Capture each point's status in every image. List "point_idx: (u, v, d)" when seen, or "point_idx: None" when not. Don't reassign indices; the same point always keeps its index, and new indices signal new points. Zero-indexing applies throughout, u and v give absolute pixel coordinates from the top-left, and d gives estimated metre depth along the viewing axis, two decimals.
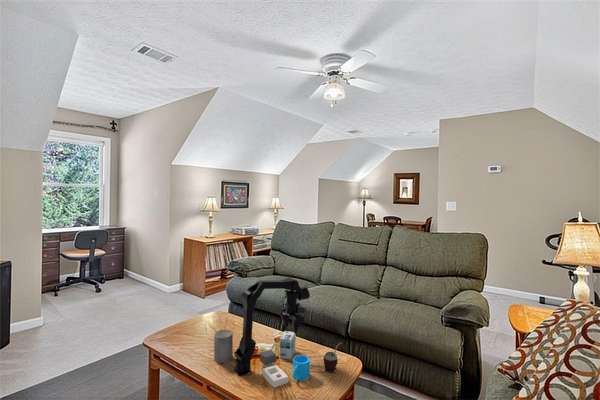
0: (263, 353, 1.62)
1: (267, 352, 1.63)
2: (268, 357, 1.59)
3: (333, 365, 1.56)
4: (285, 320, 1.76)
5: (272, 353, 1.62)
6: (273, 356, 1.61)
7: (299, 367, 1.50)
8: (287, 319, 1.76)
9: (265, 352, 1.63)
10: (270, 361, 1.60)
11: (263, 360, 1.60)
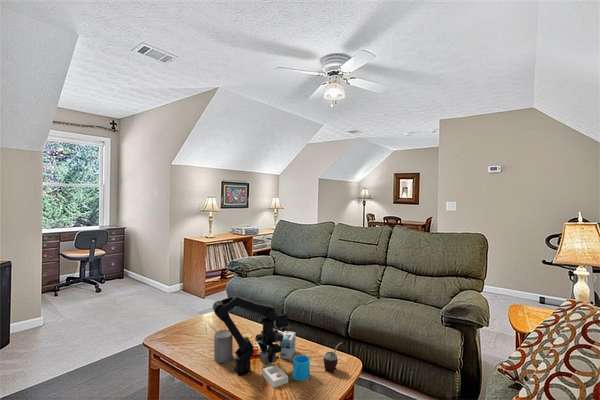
0: (263, 353, 1.62)
1: None
2: None
3: (333, 365, 1.56)
4: (263, 350, 1.65)
5: None
6: (273, 356, 1.61)
7: (299, 367, 1.50)
8: (265, 348, 1.65)
9: (265, 352, 1.63)
10: None
11: (263, 360, 1.60)
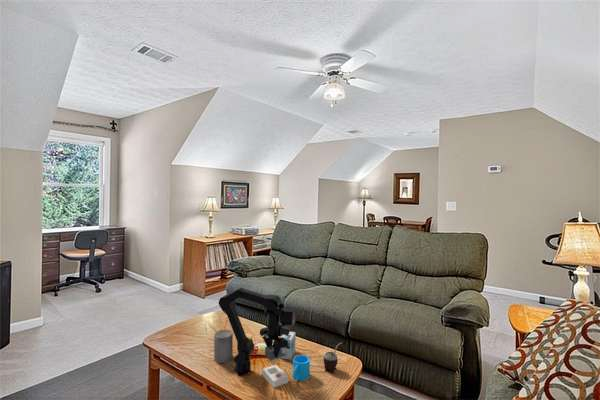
0: (268, 348, 1.52)
1: None
2: None
3: (333, 365, 1.56)
4: (268, 344, 1.55)
5: None
6: (279, 351, 1.52)
7: (299, 367, 1.50)
8: (271, 343, 1.56)
9: (271, 347, 1.54)
10: None
11: (269, 355, 1.50)
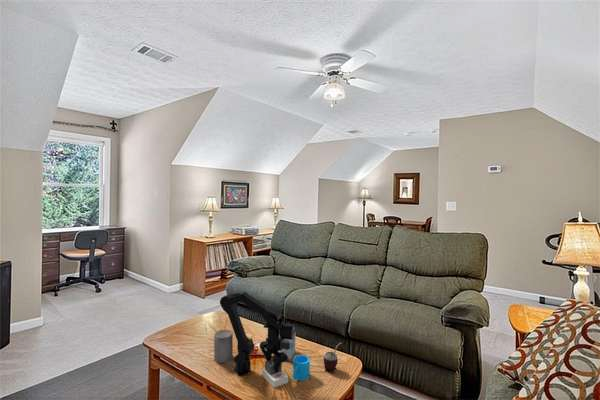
0: (268, 362, 1.52)
1: None
2: None
3: (333, 365, 1.56)
4: (267, 357, 1.56)
5: None
6: None
7: (299, 367, 1.50)
8: (270, 356, 1.56)
9: (270, 361, 1.54)
10: None
11: (268, 370, 1.50)
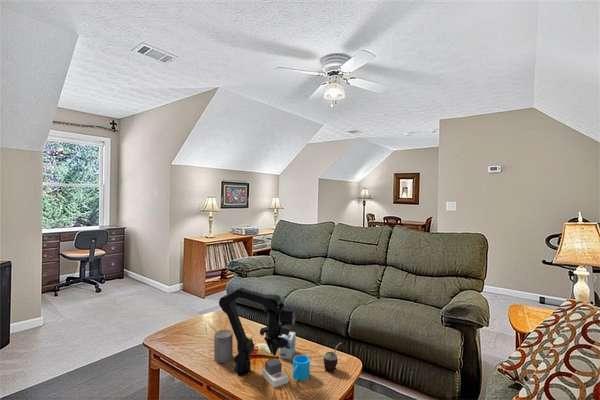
0: (268, 362, 1.52)
1: (273, 361, 1.54)
2: (274, 366, 1.50)
3: (333, 365, 1.56)
4: (270, 345, 1.53)
5: (278, 362, 1.53)
6: (279, 365, 1.51)
7: (299, 367, 1.50)
8: None
9: (270, 361, 1.54)
10: (276, 371, 1.51)
11: (268, 370, 1.50)
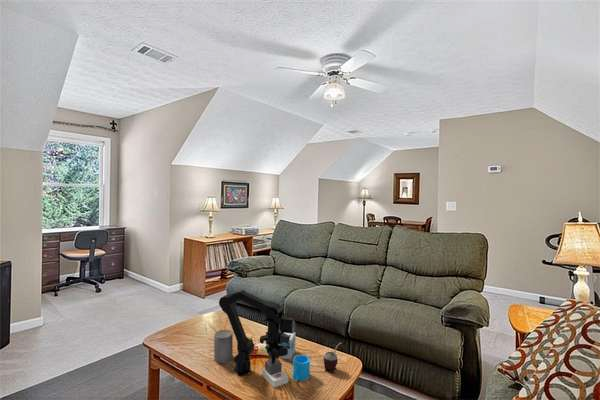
0: (268, 362, 1.52)
1: None
2: (274, 366, 1.50)
3: (333, 365, 1.56)
4: None
5: (278, 362, 1.53)
6: (279, 365, 1.51)
7: (299, 367, 1.50)
8: None
9: (270, 361, 1.54)
10: (276, 371, 1.51)
11: (268, 370, 1.50)
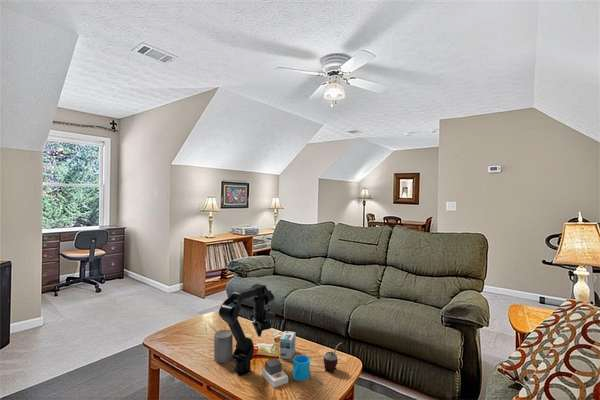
0: (268, 362, 1.52)
1: (273, 361, 1.54)
2: (274, 366, 1.50)
3: (333, 365, 1.56)
4: None
5: (278, 362, 1.53)
6: (279, 365, 1.51)
7: (299, 367, 1.50)
8: None
9: (270, 361, 1.54)
10: (276, 371, 1.51)
11: (268, 370, 1.50)
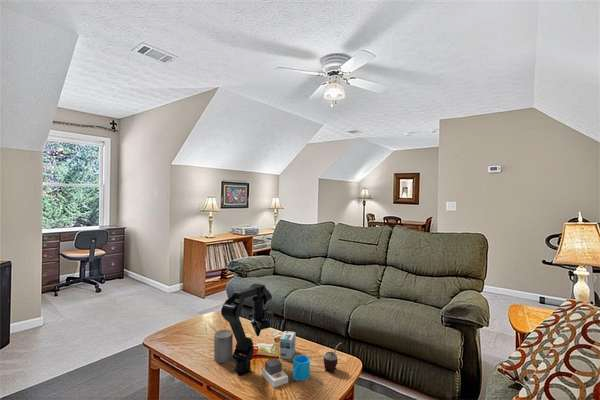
0: (268, 362, 1.52)
1: (273, 361, 1.54)
2: (274, 366, 1.50)
3: (333, 365, 1.56)
4: None
5: (278, 362, 1.53)
6: (279, 365, 1.51)
7: (299, 367, 1.50)
8: None
9: (270, 361, 1.54)
10: (276, 371, 1.51)
11: (268, 370, 1.50)
